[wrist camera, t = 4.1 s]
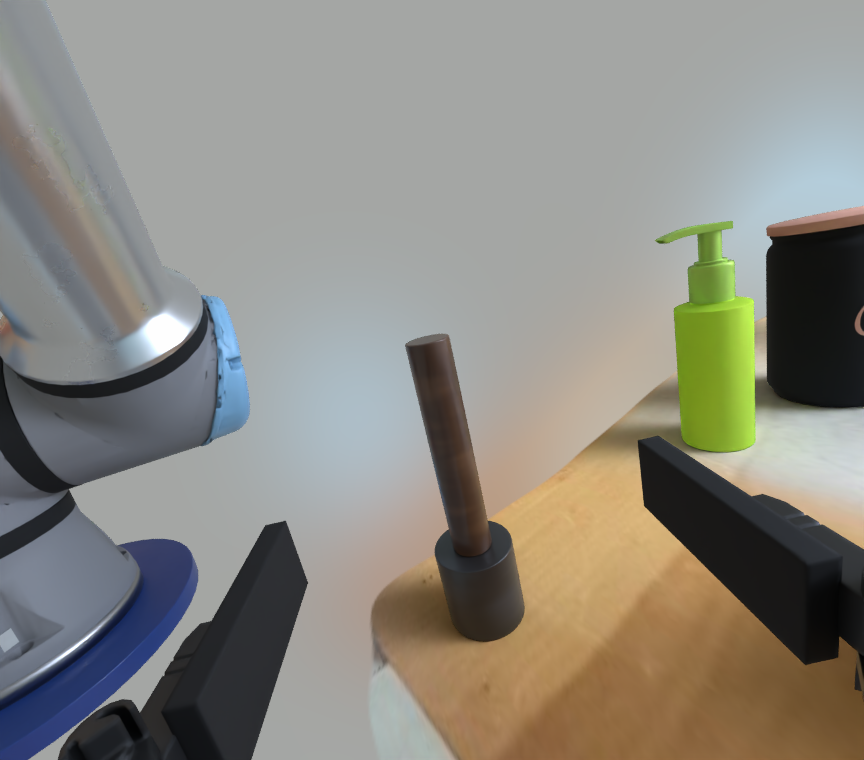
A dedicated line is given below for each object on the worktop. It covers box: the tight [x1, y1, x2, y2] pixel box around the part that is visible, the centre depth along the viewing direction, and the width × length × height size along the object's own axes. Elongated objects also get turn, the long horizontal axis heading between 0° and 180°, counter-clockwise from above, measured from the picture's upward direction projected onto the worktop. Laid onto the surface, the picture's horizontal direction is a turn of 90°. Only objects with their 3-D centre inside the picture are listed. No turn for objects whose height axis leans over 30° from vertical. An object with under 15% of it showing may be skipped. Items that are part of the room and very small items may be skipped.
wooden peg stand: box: [405, 334, 525, 641], centre depth 25 cm, size 5×5×18 cm
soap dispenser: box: [655, 221, 755, 452], centre depth 38 cm, size 6×7×20 cm
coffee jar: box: [766, 206, 864, 407], centre depth 42 cm, size 11×11×18 cm
